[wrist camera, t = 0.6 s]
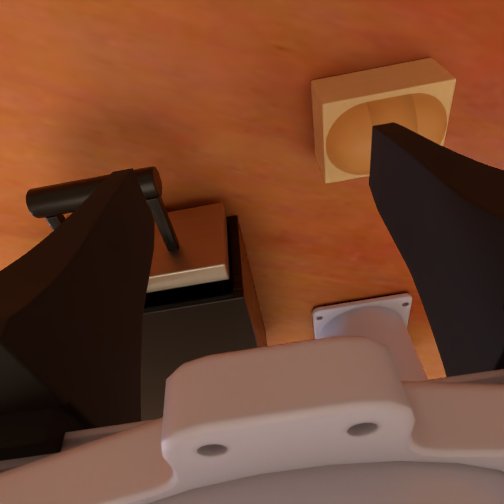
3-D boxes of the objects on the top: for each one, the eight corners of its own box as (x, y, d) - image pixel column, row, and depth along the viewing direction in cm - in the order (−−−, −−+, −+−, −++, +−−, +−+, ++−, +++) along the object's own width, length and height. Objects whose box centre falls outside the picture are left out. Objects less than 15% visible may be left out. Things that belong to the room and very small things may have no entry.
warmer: (61, 245, 26) (27, 332, 21) (237, 214, 26) (244, 297, 21) (134, 352, 35) (122, 430, 31) (265, 332, 35) (274, 408, 30)
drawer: (6, 162, 21) (-38, 227, 17) (202, 125, 20) (200, 183, 17) (128, 342, 33) (118, 403, 29) (254, 322, 32) (260, 382, 29)
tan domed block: (420, 137, 23) (452, 178, 20) (314, 156, 23) (331, 200, 20) (431, 56, 20) (471, 91, 17) (310, 80, 20) (328, 118, 17)
